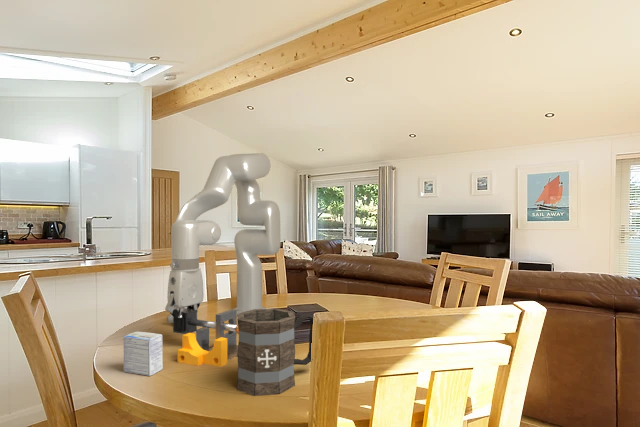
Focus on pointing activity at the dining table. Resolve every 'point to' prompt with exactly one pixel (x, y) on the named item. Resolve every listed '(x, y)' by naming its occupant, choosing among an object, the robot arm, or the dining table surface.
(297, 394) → the dining table surface
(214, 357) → the pipe clamp
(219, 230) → the robot arm
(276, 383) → the mug
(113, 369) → the dining table surface
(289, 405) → the dining table surface
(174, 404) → the dining table surface
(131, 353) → the medicine box
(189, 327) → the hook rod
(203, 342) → the grey square ring
